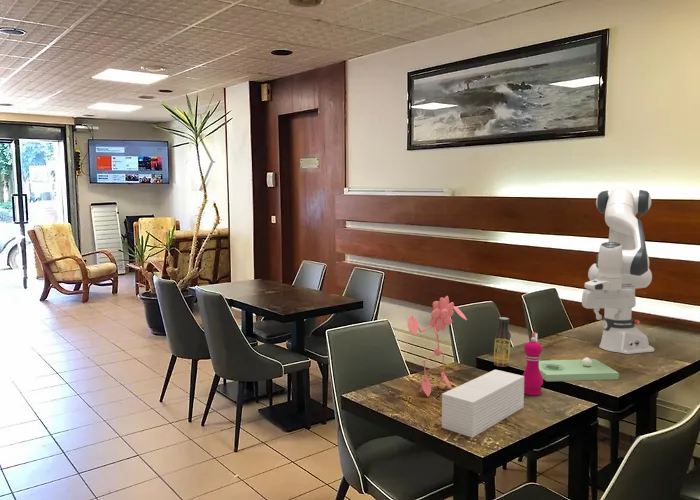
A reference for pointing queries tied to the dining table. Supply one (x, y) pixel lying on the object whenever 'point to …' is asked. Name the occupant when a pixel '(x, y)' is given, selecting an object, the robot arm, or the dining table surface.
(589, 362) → the ball
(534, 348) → the pepper mill
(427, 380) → the pink humanoid figure
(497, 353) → the sauce bottle
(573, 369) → the mat
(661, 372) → the dining table surface
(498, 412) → the stack of papers
